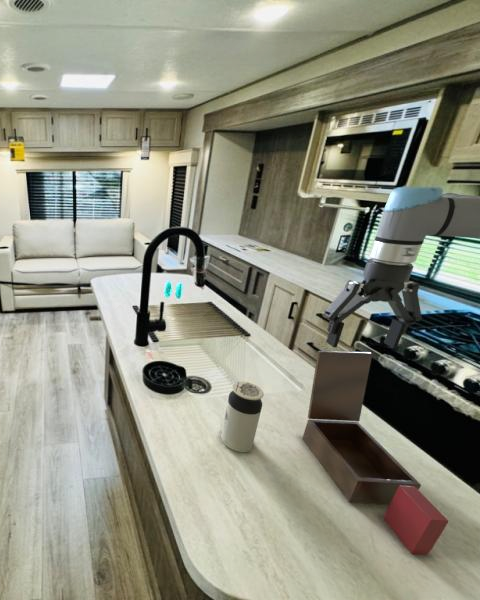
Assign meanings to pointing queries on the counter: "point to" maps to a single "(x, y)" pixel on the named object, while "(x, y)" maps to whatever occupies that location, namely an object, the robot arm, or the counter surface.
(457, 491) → the counter surface
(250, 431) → the travel mug
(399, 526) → the red rectangular brick
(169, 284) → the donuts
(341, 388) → the lid
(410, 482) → the chest
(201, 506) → the counter surface
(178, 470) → the counter surface
